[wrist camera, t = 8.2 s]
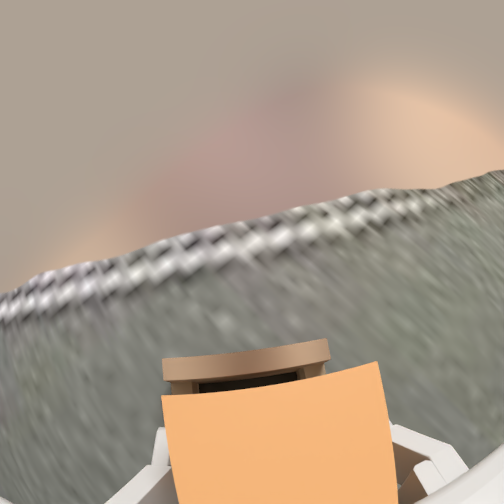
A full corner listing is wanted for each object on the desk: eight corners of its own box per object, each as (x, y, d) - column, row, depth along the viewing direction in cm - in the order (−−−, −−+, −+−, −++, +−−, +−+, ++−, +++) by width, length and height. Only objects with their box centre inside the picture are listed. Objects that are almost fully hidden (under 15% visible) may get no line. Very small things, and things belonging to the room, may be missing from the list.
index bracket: (195, 484, 13) (182, 504, 10) (178, 367, 17) (162, 358, 14) (330, 465, 14) (351, 479, 10) (310, 351, 18) (326, 337, 14)
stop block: (230, 467, 11) (197, 568, 2) (219, 397, 13) (161, 395, 4) (307, 455, 11) (399, 527, 3) (295, 386, 13) (377, 360, 5)
